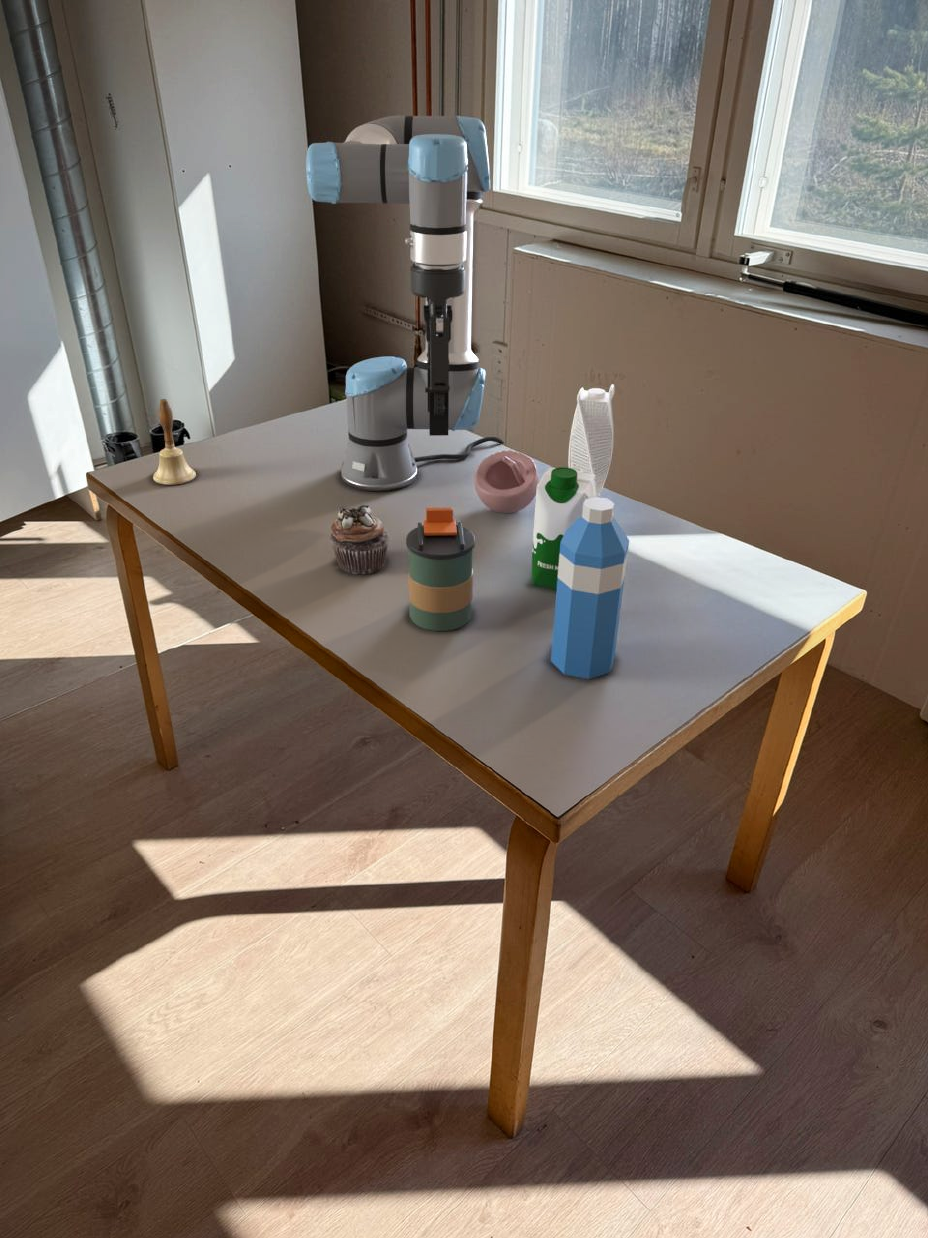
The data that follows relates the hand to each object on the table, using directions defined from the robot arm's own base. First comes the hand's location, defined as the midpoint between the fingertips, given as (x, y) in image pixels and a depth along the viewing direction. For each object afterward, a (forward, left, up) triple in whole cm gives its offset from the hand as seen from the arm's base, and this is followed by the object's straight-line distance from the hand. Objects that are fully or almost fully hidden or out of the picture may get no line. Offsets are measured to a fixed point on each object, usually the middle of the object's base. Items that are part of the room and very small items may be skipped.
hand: (437, 422), depth 137 cm
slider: (+5, +6, -14) cm, 16 cm away
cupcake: (+5, -13, -28) cm, 31 cm away
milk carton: (-16, +13, -28) cm, 34 cm away
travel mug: (+6, +8, -27) cm, 29 cm away
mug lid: (+6, +8, -15) cm, 18 cm away
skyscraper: (-32, +5, -28) cm, 42 cm away
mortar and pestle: (-28, -11, -28) cm, 41 cm away
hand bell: (+11, -66, -28) cm, 73 cm away
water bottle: (-1, +31, -28) cm, 41 cm away
